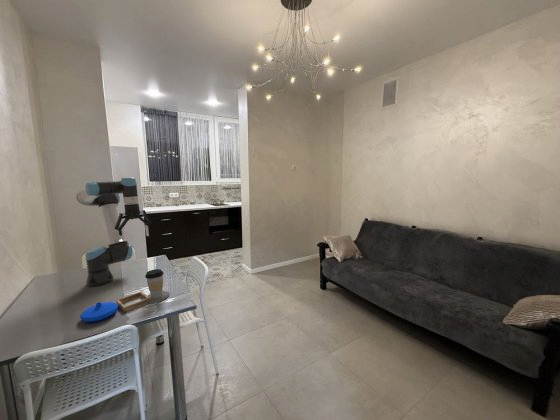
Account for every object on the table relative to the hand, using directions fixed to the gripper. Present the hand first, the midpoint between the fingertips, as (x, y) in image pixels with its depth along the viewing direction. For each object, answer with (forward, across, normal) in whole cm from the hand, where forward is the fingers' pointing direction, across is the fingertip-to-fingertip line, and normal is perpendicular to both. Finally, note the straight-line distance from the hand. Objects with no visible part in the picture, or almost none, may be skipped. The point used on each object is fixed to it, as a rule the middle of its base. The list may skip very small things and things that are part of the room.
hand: (135, 238), depth 151 cm
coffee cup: (+32, +1, -20) cm, 38 cm away
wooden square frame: (+33, -10, -16) cm, 38 cm away
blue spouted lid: (+33, -26, -16) cm, 45 cm away
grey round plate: (+33, +1, -20) cm, 38 cm away
